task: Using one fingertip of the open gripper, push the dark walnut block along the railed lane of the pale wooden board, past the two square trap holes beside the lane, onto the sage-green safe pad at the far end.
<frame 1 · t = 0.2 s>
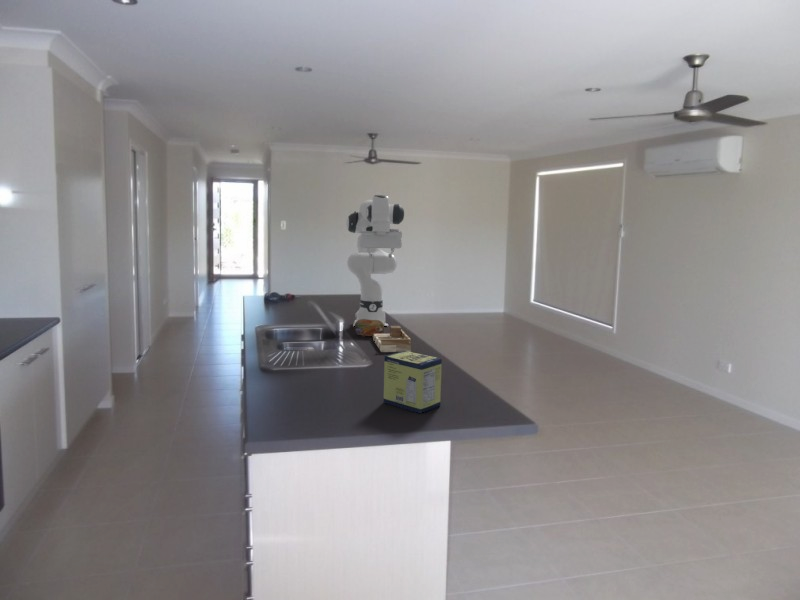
hand: (380, 257, 281), 38 cm above the table, tool pointing down, fingers open, 8 cm apart
walnut block: (395, 336, 273), point 3 cm above the table, touching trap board
protein box: (411, 405, 186), on the table
tin: (369, 336, 286), on the table
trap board: (391, 345, 267), on the table
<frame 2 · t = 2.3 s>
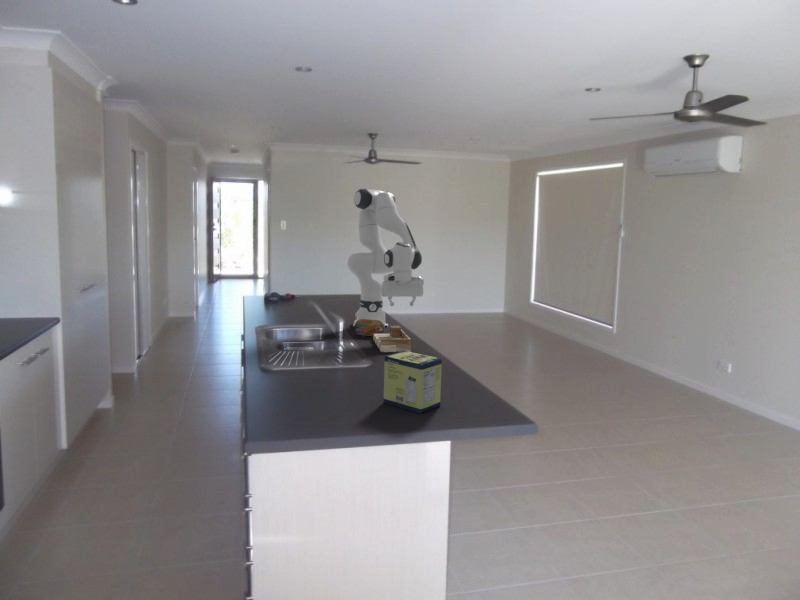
hand: (401, 305, 279), 16 cm above the table, tool pointing down, fingers open, 8 cm apart
nothing on the table moved.
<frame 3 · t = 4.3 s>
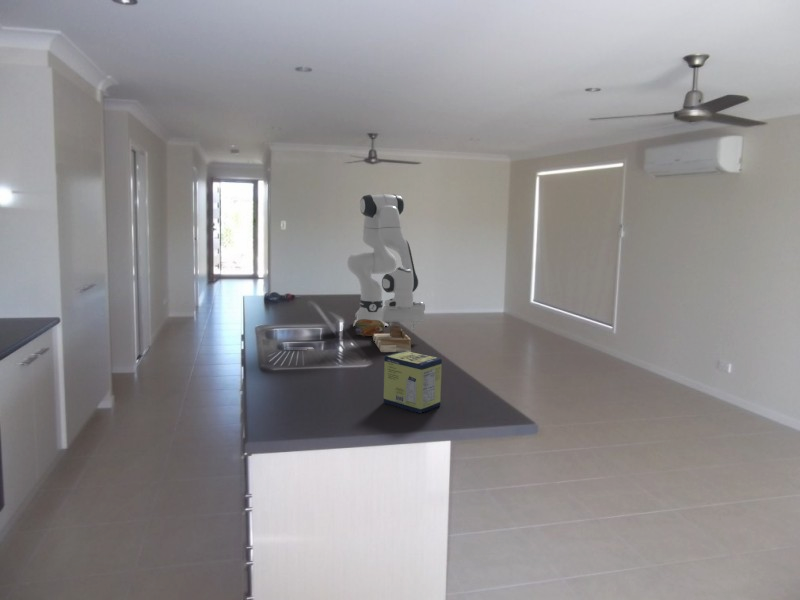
hand: (402, 331, 277), 5 cm above the table, tool pointing down, fingers open, 8 cm apart
walnut block: (395, 336, 273), point 3 cm above the table, touching gripper
everything else where it was.
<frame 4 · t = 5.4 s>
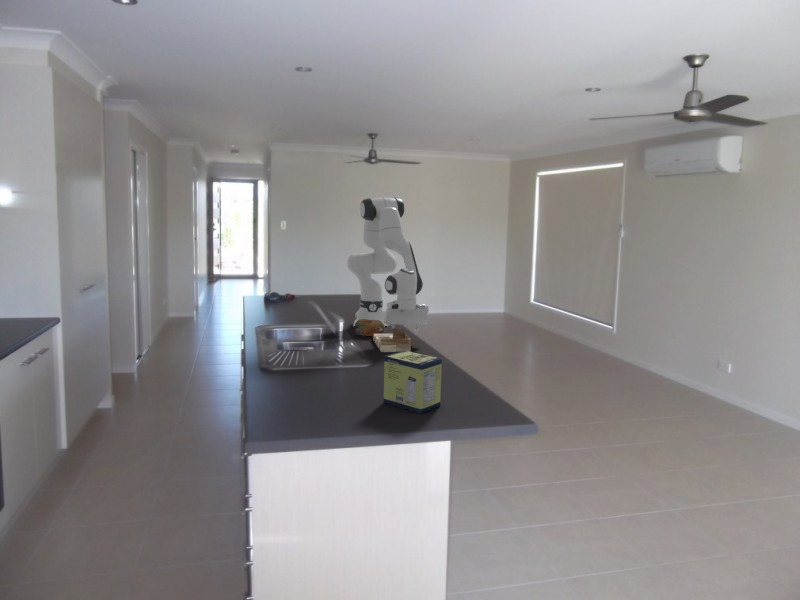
hand: (405, 334, 270), 5 cm above the table, tool pointing down, fingers open, 8 cm apart
walnut block: (398, 339, 267), point 3 cm above the table, touching gripper, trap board
everything else where it was.
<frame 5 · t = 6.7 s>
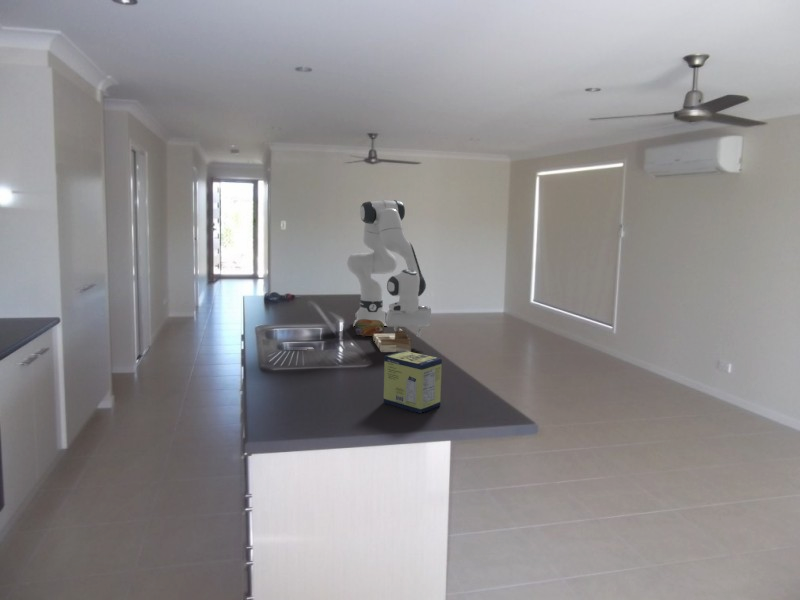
hand: (407, 336, 265), 5 cm above the table, tool pointing down, fingers open, 8 cm apart
walnut block: (400, 341, 262), point 3 cm above the table
everything else where it was.
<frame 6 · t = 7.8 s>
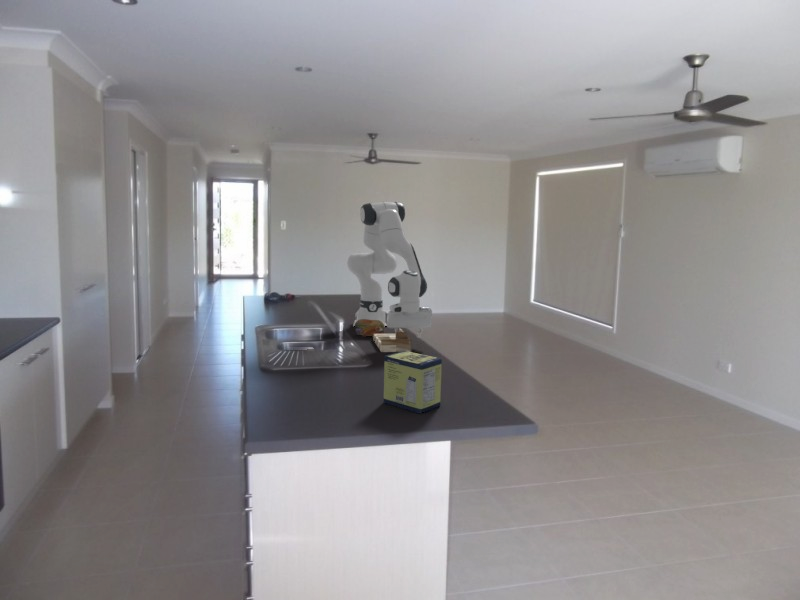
hand: (408, 337, 263), 5 cm above the table, tool pointing down, fingers open, 8 cm apart
walnut block: (401, 342, 260), point 3 cm above the table, touching gripper, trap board
everything else where it was.
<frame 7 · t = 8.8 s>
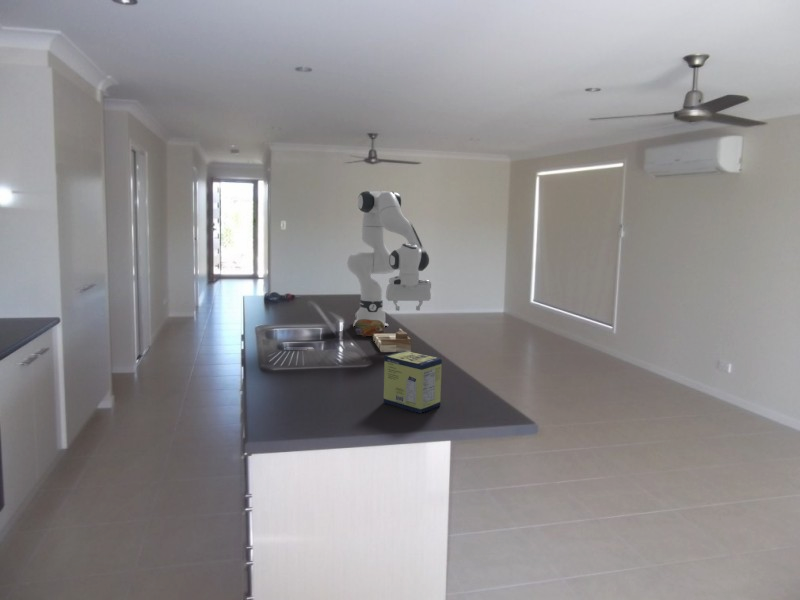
hand: (407, 310, 265), 16 cm above the table, tool pointing down, fingers open, 8 cm apart
walnut block: (401, 342, 260), point 3 cm above the table, touching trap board
everything else where it was.
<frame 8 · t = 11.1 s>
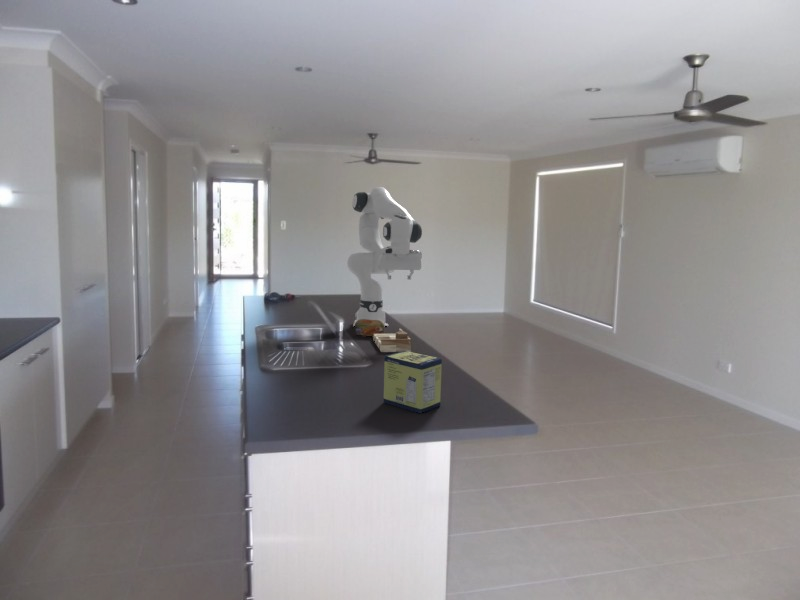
hand: (399, 279, 274), 29 cm above the table, tool pointing down, fingers open, 8 cm apart
nothing on the table moved.
at the end: walnut block 0.7 cm from the target spot, point 3.0 cm above the table; walnut block tilted 0°; walnut block moved 13.8 cm from its start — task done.
